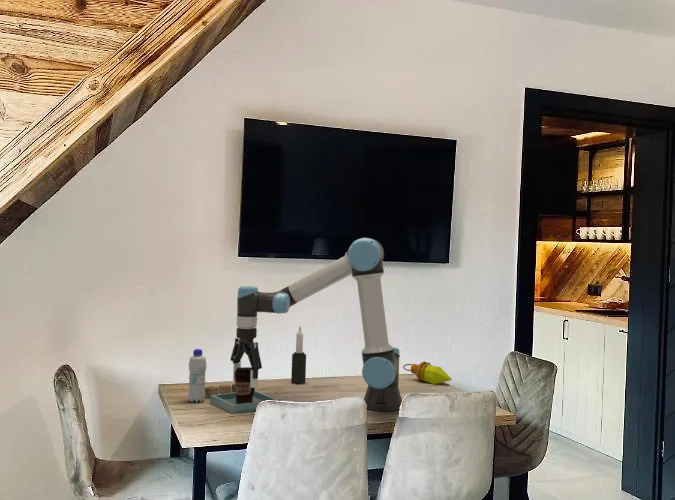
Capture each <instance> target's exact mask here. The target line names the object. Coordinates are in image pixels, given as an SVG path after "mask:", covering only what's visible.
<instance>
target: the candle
mask: <svg viewBox="0 0 675 500" xmlns="http://www.w3.org/2000/svg"><path fill="white" fill-rule="evenodd" d="M298 327H299V328H298V331H297V333H296V335H295V336H296V338H295V339H296V341H295V342H296V343H295V346H296V347H295V351H294V352H293V353H292V355H291V374H290V375H291V379H290V381H291V384H294V385H304V384H306V378H307V377H306V375H307V372H306V371H307V366H306V365H307V354H306V353H305V352H304V350H303V349H304V333H303V331H302V326H298Z"/></svg>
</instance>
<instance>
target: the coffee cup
mask: <svg viewBox="0 0 675 500" xmlns="http://www.w3.org/2000/svg"><path fill="white" fill-rule="evenodd" d="M251 368H252V367H251V366H250V367H249V366H247V367H246V366H245V367H241V368H237V370H236V371H235V381H234V384H235V393H236V403H239V404H244V403H252V402H253V393H254V391H255V390H256V389H255V388H256V387H254V388H250V376H251V370H250V369H251Z"/></svg>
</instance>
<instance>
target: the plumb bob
mask: <svg viewBox="0 0 675 500" xmlns="http://www.w3.org/2000/svg"><path fill="white" fill-rule="evenodd" d="M406 366H411V367H410V369H408V368H406ZM402 368H403V369H404V370H405V371H408V372H410V373H411V374H414V375H416V379H417V380H418V381H420V382H423V383H430V384H432V385H438V384H441V383H445V382H449V381H453V378H451V376H450V375H449V374H448V373H447V372H446V371H445V370H444V369H443V368H442V367H440V366H436V365H432V364H431V363H430V362H427V361H422V362H420V363H419V364H416V363H405V364H404V365H403V366H402Z"/></svg>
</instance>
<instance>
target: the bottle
mask: <svg viewBox="0 0 675 500" xmlns="http://www.w3.org/2000/svg"><path fill="white" fill-rule="evenodd" d="M192 353H193V354H192V356H191V357H190V358H189V361H188V371H189V375H188V377H189V380H188V381H189V382H188V384H189V385H188V393H187V395H188V401H189V402H191V403H194V401H195V403H197V404H198V401H199V403H202V402H204V401H205V399H206V398H205V387H206V371H207V358H206V357H205V356H203V350H202V349H201V348H196V349H194V350H193V351H192Z"/></svg>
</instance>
